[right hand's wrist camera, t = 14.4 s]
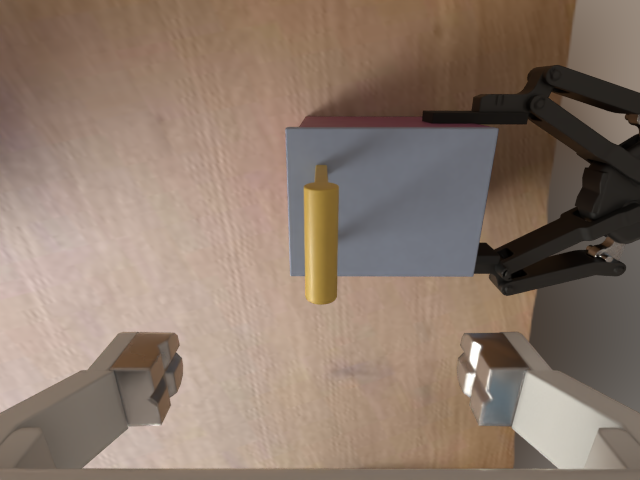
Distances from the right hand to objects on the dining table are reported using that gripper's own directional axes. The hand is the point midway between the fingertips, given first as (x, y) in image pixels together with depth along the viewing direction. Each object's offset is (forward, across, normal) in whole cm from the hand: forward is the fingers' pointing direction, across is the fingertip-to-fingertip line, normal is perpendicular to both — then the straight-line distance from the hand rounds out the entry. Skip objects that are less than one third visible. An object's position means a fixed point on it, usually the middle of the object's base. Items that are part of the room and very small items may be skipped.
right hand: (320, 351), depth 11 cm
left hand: (+19, +8, 0) cm, 21 cm away
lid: (+15, +4, 0) cm, 16 cm away
